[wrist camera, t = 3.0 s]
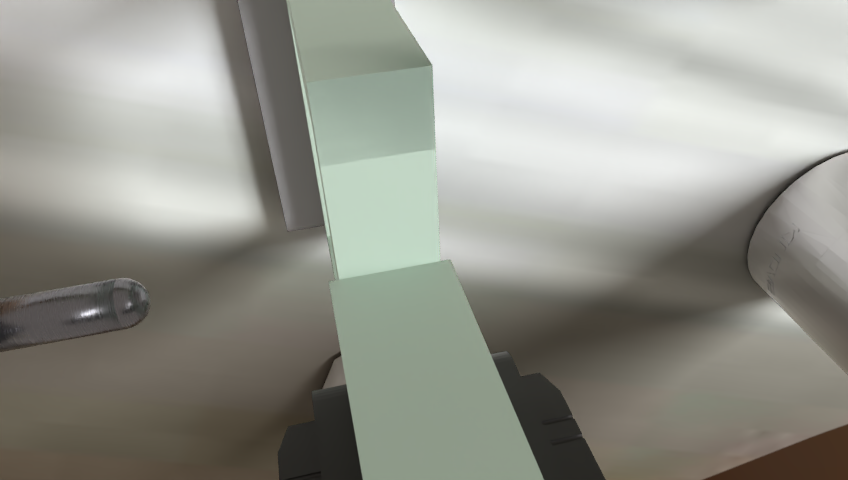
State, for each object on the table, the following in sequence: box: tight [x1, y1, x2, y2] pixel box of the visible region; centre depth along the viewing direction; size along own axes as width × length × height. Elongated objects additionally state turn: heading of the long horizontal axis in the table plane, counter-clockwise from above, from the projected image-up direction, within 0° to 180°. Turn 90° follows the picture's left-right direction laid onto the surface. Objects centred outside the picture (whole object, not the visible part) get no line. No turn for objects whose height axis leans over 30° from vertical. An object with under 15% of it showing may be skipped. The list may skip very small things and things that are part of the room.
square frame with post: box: [237, 0, 544, 480], centre depth 16 cm, size 5×12×19 cm, turn 3°
